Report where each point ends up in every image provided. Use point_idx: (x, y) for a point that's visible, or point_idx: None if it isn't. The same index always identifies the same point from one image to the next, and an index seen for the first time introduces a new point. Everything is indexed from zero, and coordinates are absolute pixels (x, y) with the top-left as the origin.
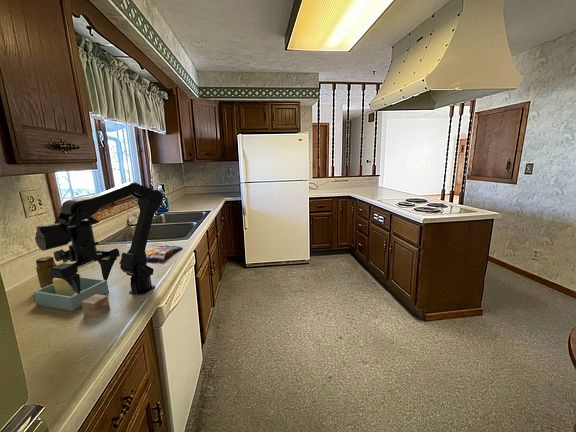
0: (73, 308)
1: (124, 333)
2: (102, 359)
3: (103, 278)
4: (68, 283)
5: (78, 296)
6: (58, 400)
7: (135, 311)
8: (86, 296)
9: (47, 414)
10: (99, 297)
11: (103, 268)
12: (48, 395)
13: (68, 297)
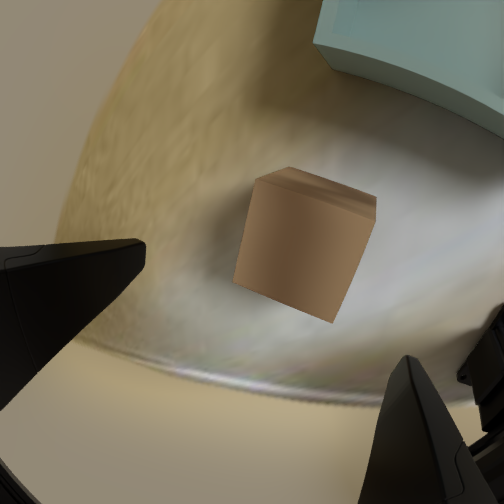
0: (332, 66)
1: (185, 376)
2: (112, 350)
3: (406, 365)
4: (26, 246)
5: (378, 64)
6: None
7: (306, 385)
8: (432, 93)
9: None
10: (313, 280)
11: (404, 485)
12: None
13: (317, 24)
